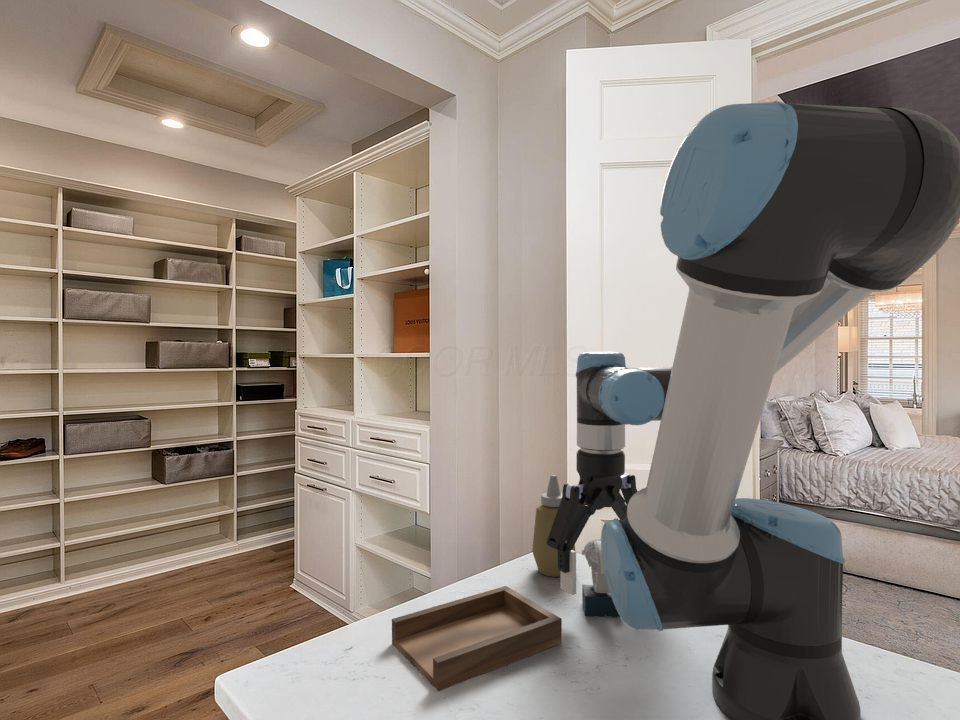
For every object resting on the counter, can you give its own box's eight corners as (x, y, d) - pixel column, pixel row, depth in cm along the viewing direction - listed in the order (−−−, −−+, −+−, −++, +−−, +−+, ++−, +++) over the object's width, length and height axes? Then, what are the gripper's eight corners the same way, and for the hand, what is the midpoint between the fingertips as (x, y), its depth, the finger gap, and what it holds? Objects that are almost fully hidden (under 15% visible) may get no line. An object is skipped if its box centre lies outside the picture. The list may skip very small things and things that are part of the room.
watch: (614, 599, 94) (614, 533, 93) (623, 622, 86) (623, 551, 85) (580, 598, 94) (580, 532, 94) (585, 621, 86) (585, 550, 86)
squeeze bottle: (582, 568, 107) (582, 474, 106) (565, 583, 100) (564, 482, 99) (543, 560, 111) (543, 469, 111) (524, 574, 104) (524, 477, 104)
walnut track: (561, 643, 80) (561, 618, 80) (437, 691, 69) (437, 662, 69) (506, 607, 91) (505, 585, 91) (391, 643, 80) (391, 619, 80)
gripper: (635, 437, 99) (634, 556, 100) (523, 454, 86) (523, 591, 86) (671, 444, 93) (670, 570, 94) (556, 463, 79) (556, 610, 80)
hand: (599, 580), depth 90 cm, fingers open, 13 cm apart
